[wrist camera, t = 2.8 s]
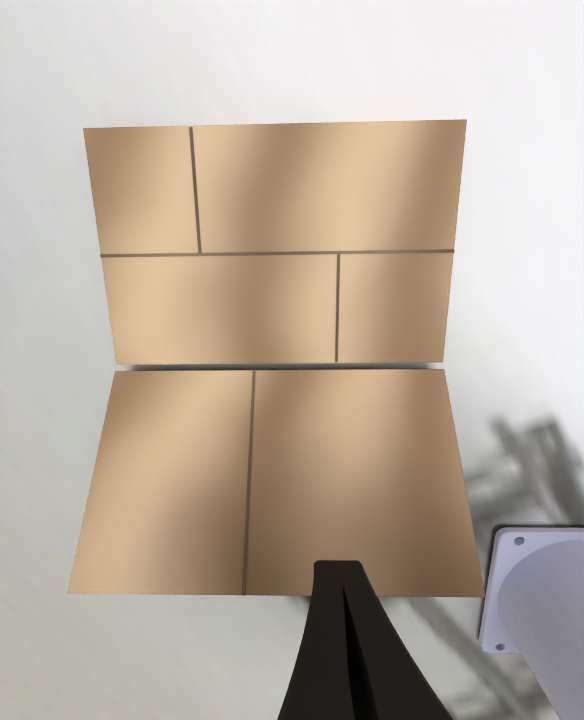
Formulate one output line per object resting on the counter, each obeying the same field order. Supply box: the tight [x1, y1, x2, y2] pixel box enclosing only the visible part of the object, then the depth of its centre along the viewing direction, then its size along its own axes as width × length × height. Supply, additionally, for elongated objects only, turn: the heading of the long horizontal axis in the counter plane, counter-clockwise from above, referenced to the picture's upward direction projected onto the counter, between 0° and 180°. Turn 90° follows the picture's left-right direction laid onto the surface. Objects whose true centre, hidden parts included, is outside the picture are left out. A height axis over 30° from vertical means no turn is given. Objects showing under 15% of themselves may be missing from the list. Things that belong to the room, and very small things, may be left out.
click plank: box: [67, 369, 485, 597], centre depth 13 cm, size 14×8×1 cm
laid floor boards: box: [83, 120, 467, 365], centre depth 13 cm, size 14×9×1 cm, turn 91°
